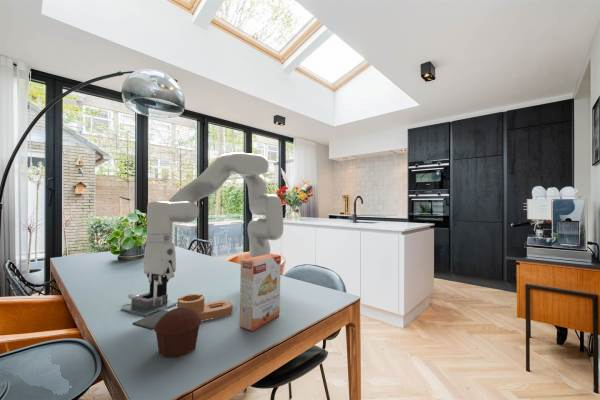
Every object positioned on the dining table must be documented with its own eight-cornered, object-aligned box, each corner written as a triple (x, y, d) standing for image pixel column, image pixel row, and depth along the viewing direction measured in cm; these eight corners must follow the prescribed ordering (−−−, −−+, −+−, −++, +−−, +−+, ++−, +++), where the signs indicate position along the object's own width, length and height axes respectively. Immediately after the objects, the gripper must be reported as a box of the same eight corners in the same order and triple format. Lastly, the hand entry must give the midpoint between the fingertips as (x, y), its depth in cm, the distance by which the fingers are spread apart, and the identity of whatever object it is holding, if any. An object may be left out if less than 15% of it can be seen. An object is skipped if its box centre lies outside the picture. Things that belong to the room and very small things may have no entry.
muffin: (167, 337, 76) (168, 302, 76) (206, 337, 76) (207, 302, 76) (144, 362, 64) (144, 320, 64) (190, 362, 64) (191, 320, 64)
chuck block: (177, 304, 100) (177, 293, 100) (147, 316, 89) (148, 304, 89) (144, 297, 107) (144, 287, 107) (113, 308, 96) (113, 296, 96)
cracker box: (253, 332, 79) (254, 261, 80) (238, 327, 82) (239, 259, 83) (281, 316, 91) (281, 254, 91) (267, 312, 94) (267, 252, 95)
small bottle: (165, 303, 88) (165, 273, 88) (156, 306, 85) (157, 275, 85) (158, 302, 89) (159, 272, 89) (149, 305, 86) (150, 274, 86)
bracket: (179, 326, 83) (179, 304, 83) (175, 317, 90) (175, 296, 90) (235, 314, 93) (235, 294, 93) (227, 306, 100) (228, 287, 100)
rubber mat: (182, 315, 90) (182, 314, 90) (152, 329, 80) (152, 328, 80) (163, 311, 94) (163, 310, 94) (132, 323, 84) (132, 322, 84)
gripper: (187, 239, 88) (185, 295, 87) (152, 236, 94) (151, 288, 94) (167, 241, 81) (165, 302, 80) (132, 238, 87) (130, 294, 87)
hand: (158, 294), depth 87 cm, fingers closed on small bottle, 2 cm apart
